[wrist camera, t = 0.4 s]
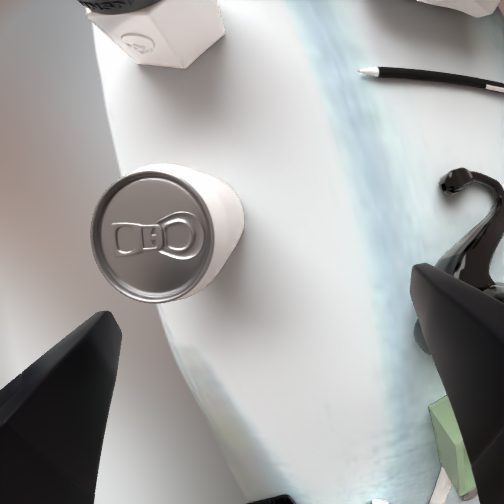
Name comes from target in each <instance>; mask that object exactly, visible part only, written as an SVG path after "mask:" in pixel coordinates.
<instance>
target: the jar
mask: <svg viewBox="0 0 504 504" xmlns="http://www.w3.org/2000/svg"><path fill="white" fill-rule="evenodd" d="M78 1H79V2H80V3H81V4H82V5H83V6H85V12H86V17H87V18H89V19H90V20H91V21H92V22H93V23H94V24H95V25H96V26H97V27H98V28H99V29H101V30H102V31H103V32H104V33H105V34H106V35H107V36H108V37H109V38H110V39H111V40H112V41H113V42H115V43H116V44H117V45H118V46H119V47H120V48H121V49H122V50H123V51H124V52H125V53H126V54H127V55H128V56H129V57H130V58H131V59H132V60H133V61H135V62H136V63H137V64H145V65H156V66H165V67H174V68H181V69H185V68H187V67H188V66H189V65H190V64H191V63H192V62H193V61H195V60H196V59H197V58H198V57H199V56H200V55H201V54H202V53H204V52H205V51H206V50H207V49H208V48H209V47H210V46H212V45H213V44H214V43H215V42H216V41H217V40H219V39H220V38H221V37H222V36H223V35H225V28H224V24H223V21H222V17H221V13H220V10H219V6H218V2H217V0H78Z"/></svg>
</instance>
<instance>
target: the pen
mask: <svg viewBox="0 0 504 504" xmlns="http://www.w3.org/2000/svg"><path fill="white" fill-rule="evenodd" d="M357 72H359V73H363V74H367V75H372V76H376V77H389V78H406V79H418V80H429V81H438V82H447V83H454V84H461V85H468V86H474V87H480V88H485V89H489V90H494V91H499V92H504V84H503V83H499V82H494V81H489V80H484V79H479V78H474V77H468V76H462V75H456V74H450V73H442V72H435V71H426V70H416V69H405V68H392V67H372V68H367V69H361V70H359V71H357Z"/></svg>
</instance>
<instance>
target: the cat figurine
mask: <svg viewBox="0 0 504 504" xmlns="http://www.w3.org/2000/svg"><path fill="white" fill-rule="evenodd" d="M471 182H477V183H480V184H483V185H485V186H487V187H489V188H490V189H491V190H492V191H493V193H494V195H495V198H496V200H495V204H494V206H493V209H492V210H491V212H490V213H489V214H488V215H487V217H486V218H485V219H484V220H482V221H481V222H480V223H479V224H478V225H476V226H475V227H474V228H473V229H472V230H471V231H470V232H469V233H467V234H466V235H465V236H464V237H463V238H462V239H461V240H460V241H459V242H458V243H457V244H456V245H455V246H453V247H452V248H451V249H450V250H449V251H448V252H446V253H445V254H444V255H443V256H442V257H441V258H440V259H439V260H438V262H437V264H436V265H435V267H436V268H438V269H440V270H442V271H444V272H446V273H448V274H450V275H452V276H454V277H456V278H458V279H459V280H461V281H463V282H465V283H467V284H469V285H471V286H473V287H475V288H477V289H479V290H480V291H482V292H484V293H486V294H488V295H490V296H492V297H493V298H495V299H497V300H499V301H501V302H503V303H504V283H500V282H494V281H493V280H492V279H491V278H490V275H489V268H490V264H491V261H492V258H493V255H494V252H495V250H496V248H497V246H498V244H499V242H500V241H501V239H502V237H503V236H504V189H503V187H502V185H501V184H500V183H499V182H498V181H497V180H495V179H493V178H491V177H488V176H486V175H484V174H481V173H478V172H473V171H468V170H467V169H465V168H458V169H454V170H451V171H450V172H448V173H447V174H446V175H444V176H443V177H442V178H441V179H440V185H441V187H442V189H443V192H444V193H445V194H446V195H449V196H452V195H455V194H456V193H458V192H460V190H461V189H463V188H465V187H467V186H469V185H470V184H471ZM414 338H415V340H416V342H417V344H418V345H419V346H420V348H421V349H422V350H423V351H424V352H425V353H427V354H429V355H431V353H430V351H429V348H428V346H427V343H426V341H425V338H424V335H423V332H422V329H421V326H420V323H419V319H418V320H417V322H416V324H415V328H414Z"/></svg>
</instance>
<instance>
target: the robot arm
mask: <svg viewBox="0 0 504 504" xmlns="http://www.w3.org/2000/svg"><path fill="white" fill-rule="evenodd" d="M410 295H411V298H412V301H413V304H414V307H415V310H416V313H417V316H418V319H419V323H420V326H421V329H422V332H423V335H424V338H425V341H426V343H427V346H428V348H429V351H430V353H431V355H432V358H433V360H434V363H435V365H436V367H437V370H438V372H439V375H440V377H441V380H442V383H443V385H444V388H445V390H446V393H447V396H448V398H449V401H450V404H451V407H452V409H453V412H454V415H455V418H456V421H457V424H458V427H459V430H460V433H461V436H462V439H463V442H464V445H465V449H466V452H467V455H468V459H469V462H470V465H471V470H472V473H473V477H474V481H475V485H476V489H477V493H478V497H479V501H480V504H504V303H503V302H501V301H499V300H497V299H495V298H493V297H492V296H490V295H488V294H486V293H484V292H482V291H480V290H479V289H477V288H475V287H473V286H471V285H469V284H467V283H465V282H463V281H461V280H459V279H458V278H456V277H454V276H452V275H450V274H448V273H446V272H444V271H442V270H440V269H438V268H436V267H434V266H432V265H430V264H428V263H421V264H416V265H414V266H413V267H412V273H411V284H410ZM121 341H122V332H121V329H120V328H119V326H118V324H117V322H116V320H115V318H114V317H113V315H112V313H111V312H109V311H100V312H97V313H95V314H94V315H93V316H92V317H90V318H89V319H88V320H86V321H85V322H84V323H83V324H81V325H80V326H79V327H77V328H76V329H75V330H74V331H72V332H71V333H70V334H69V335H67V336H66V337H65V338H64V339H62V340H61V341H60V342H59V343H58V344H56V345H55V346H54V347H53V348H51V349H50V350H49V351H47V352H46V353H45V354H44V355H42V356H41V357H40V358H39V359H38V360H36V361H35V362H34V363H33V364H31V365H30V366H29V367H28V368H27V369H25V370H24V371H23V372H22V374H19V375H18V376H17V377H16V378H15V379H13V380H12V381H11V382H10V383H8V384H7V385H6V386H5V387H4V388H3V389H1V390H0V504H94V498H95V489H96V482H97V474H98V469H99V462H100V456H101V450H102V445H103V439H104V434H105V428H106V423H107V418H108V414H109V408H110V404H111V399H112V395H113V390H114V386H115V381H116V376H117V369H118V361H119V354H120V348H121V347H120V346H121ZM248 504H296V503H295V502H294V501H293V500H292V499H291V498H290V496H289V495H281V496H277V497H273V498H269V499H265V500H261V501H257V502H252V503H248Z"/></svg>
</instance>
